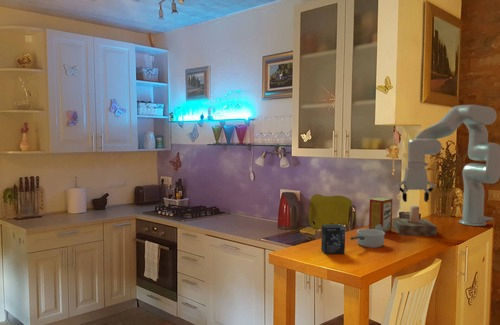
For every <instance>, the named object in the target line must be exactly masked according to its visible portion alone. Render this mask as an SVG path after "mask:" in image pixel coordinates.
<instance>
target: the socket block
mask: <svg viewBox="0 0 500 325" xmlns="http://www.w3.org/2000/svg"><path fill="white" fill-rule="evenodd" d="M392 228H393V230H395V231H396V232H397V234H399V235H400V236H416V235H417V236H418V237H419V236H420V237H424V236H425V237H438V226H437V225H435V224H434V223H432V222H431V221H429V219H426V218H419V224H414V223H410V218H396V217H395V218H393V217H392Z"/></svg>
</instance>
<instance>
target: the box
mask: <svg viewBox="0 0 500 325" xmlns="http://www.w3.org/2000/svg"><path fill="white" fill-rule="evenodd" d="M345 248H346V227H345V226H344V225H342V224H341V223H339V224H322V225H321V248H320V250H321V252H322V253H324V254H325V255H337V254H339V255H341V254H342V255H344V254H345V252H346V251H345Z"/></svg>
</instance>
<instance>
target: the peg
mask: <svg viewBox="0 0 500 325" xmlns="http://www.w3.org/2000/svg"><path fill="white" fill-rule="evenodd" d="M409 219H410V223H414V224H419V219H420V206H417V205H410V207H409Z"/></svg>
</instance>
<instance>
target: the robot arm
mask: <svg viewBox="0 0 500 325" xmlns="http://www.w3.org/2000/svg"><path fill="white" fill-rule="evenodd" d="M497 116H498V114H497V111H496V110H495V109H494V108H493V107H490V106H484V105H478V104H460V105H455V106H453V107H452V108H451V109H450V110H449V111H448V112H447V113H446V114H445V115H444V116H443V118H442V117H441V119H440V120H439V121H438V122H436V123H433V125H431V126H429V127H427V128H426V129H423V130H422V131H420V132H419V133H418V134H417V135H416V136H415V138H413V139H409V140H408V143H407V167H406V168H405V172H404V176H403V180H402V181H400V182H398V183H396V186H397V188H398V190H399V191H400V192H401V194H402V200H403V203H404V202H405V203H407V201H408V198H407V197H408V194H407V192H408V191H411V190H412V191H413V190H416V191H417V190H418V191H422V190H423V191H424V193H423V194H424V196H423V198H424V199H423V201H424V202H426V203H428V202H429V201H428V200H429V199H430V193H431V192H432V191H433V190H434V188H435V186H436V184H435V183H433V182H431V181H429V180H428V171H427V168H426V167H428V165H429V163H427V162H425V161H426V155H431V156H432V155H437V154H439V153H440V152H441V150H442V148H443V146H442V143H441V141H439V140H438V139H443V138H446V137H449V136H451V135H452V134H454V133H455V131H457V129H458V128H459V127H460V126H461V125H462V124H464V125H465V126H466V129H468V134H469V136H468V137H469V138H468V145H467V146H468V147H467V156H468V158H469V159H470V160H471V161H475V162H474V163H473V162H470V163H467V164H465V165H464V166H463V168H462V180H463V200H462V201H463V202H462V218H461V219H459V220H458V223H459V224H461V225H465V226H470V227H472V226H473V227H484V226H487V222H488V221H489V222H493V221H494V218H493V216H492V217H488V216H486V215H484V212H485V211H484V209H485V208H484V207H485V188H484V185H483V184H496V183H497V182H498V181H499V179H500V144H498V143H497V142H496V143H495V142H489V141H488V140H489V132H488V129H487V127H486V125H487V126H488V125H492V124H494V123H495V121H496V120H497V118H498V117H497ZM476 162H486V163H476ZM429 185H430V187H429ZM402 186H403V188H402ZM428 187H429V188H428Z"/></svg>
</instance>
